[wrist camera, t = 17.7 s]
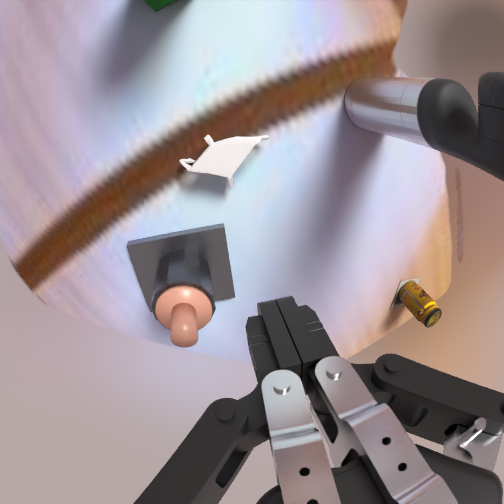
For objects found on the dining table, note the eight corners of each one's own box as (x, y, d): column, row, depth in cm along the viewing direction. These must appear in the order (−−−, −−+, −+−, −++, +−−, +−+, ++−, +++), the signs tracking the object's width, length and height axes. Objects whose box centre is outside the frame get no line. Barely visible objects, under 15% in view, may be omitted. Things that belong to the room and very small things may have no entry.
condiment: (420, 277, 62) (448, 305, 52) (409, 304, 67) (434, 332, 56) (400, 280, 61) (429, 310, 51) (389, 308, 65) (414, 339, 55)
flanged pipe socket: (223, 223, 45) (232, 255, 36) (234, 292, 52) (244, 332, 43) (128, 241, 43) (114, 276, 34) (151, 306, 50) (146, 347, 41)
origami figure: (213, 196, 43) (215, 207, 39) (177, 156, 39) (175, 162, 35) (275, 149, 41) (285, 154, 37) (242, 105, 37) (249, 105, 33)
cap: (204, 270, 40) (209, 309, 32) (214, 312, 44) (220, 353, 36) (150, 279, 39) (144, 320, 31) (165, 320, 43) (163, 361, 35)
